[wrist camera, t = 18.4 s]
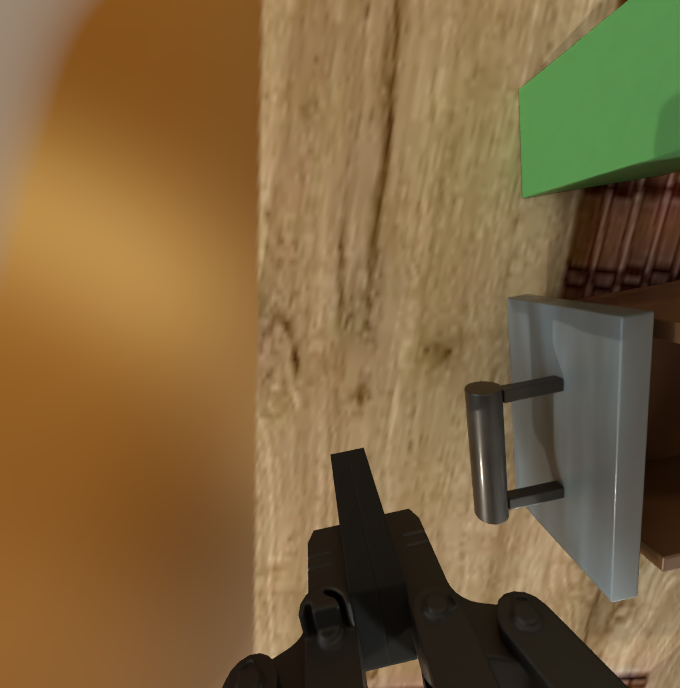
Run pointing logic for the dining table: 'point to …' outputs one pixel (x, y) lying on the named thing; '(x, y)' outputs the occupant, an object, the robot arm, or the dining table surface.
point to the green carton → (606, 104)
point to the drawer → (588, 429)
